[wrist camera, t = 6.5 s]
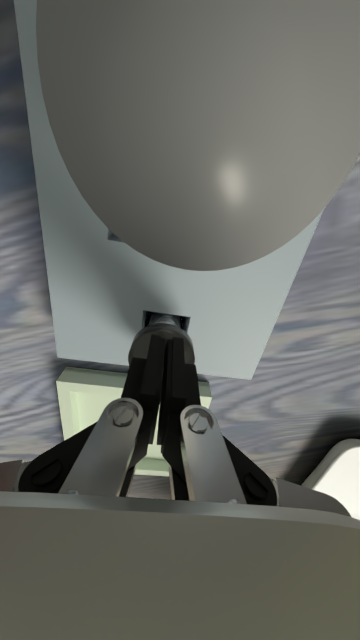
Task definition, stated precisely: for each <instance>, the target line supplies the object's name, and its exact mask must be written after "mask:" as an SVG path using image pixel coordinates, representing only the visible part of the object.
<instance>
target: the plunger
mask: <svg viewBox="0 0 360 640" xmlns="http://www.w3.org/2000/svg"><path fill="white" fill-rule="evenodd" d="M151 334H155V335H162V338H164V339H165V351H164V364H165V358H166V352H167V346H168V340H169V339H173V337H178V338H183V340H184V356H185V363H186V364H195V355H194V348H193V343H192V340H191V338H190V337H189V335H188V334H187V333H186V332H185V331H184V330H183V329H181V328H180V316H179V315H172V314H165V313H158V312H152V313H151V317H150V322H149V326H146V327H144V328H143V329H141V330H140V331H139V332H138V333H137V334H136V335H135V337H134V339H133V341H132V345H131V348H130V351H129V354H128V363H129V366H130V364H131V360H132V358H133V357H135V358H144V359H147V355H148V349H149V344H150V339H151ZM164 364H163V370H164Z"/></svg>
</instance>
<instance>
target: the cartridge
mask: <svg viewBox="0 0 360 640" xmlns="http://www.w3.org/2000/svg"><path fill="white" fill-rule="evenodd" d="M36 39H37V59H38V67H39V74H40V81H41V88H42V95H43V99H44V103H45V107H46V111H47V115H48V119H49V124H50V127H51V130H52V132H53V135H54V138H55V141H56V144H57V147H58V150H59V152H60V155H61V157H62V159H63V161H64V163H65V166H66V168H67V170H68V172H69V174H70V176H71V178H72V180H73V181H74V183H75V185H76V187H77V188H78V190H79V192H80V194H81V195H82V197H83V198H84V199H85V201H86V202H87V204H88V205H89V206H90V208H91V209H92V210H93V212H94V213H95V214H96V215H97V217H98V218H99V219H100V220H101V221H102V222H103V223H104V224H105V225H106V227H107V228H108V229H109V230H110V231H112V232H113V233H114V234H115V235H116V236H117V237H118V238H119V239H121V240H122V241H123V242H124V243H126V244H127V245H129V246H130V247H131V248H133V249H134V250H136V251H137V252H139V253H141V254H143V255H145V256H146V257H148V258H150V259H152V260H154V261H157V262H160V263H162V264H165V265H168V266H171V267H176V268H180V269H184V270H194V271H218V270H224V269H230V268H235V267H238V266H241V265H245V264H248V263H251V262H253V261H255V260H258V259H260V258H262V257H265V256H266V255H268V254H270V253H272V252H273V251H275V250H277V249H279V248H280V247H282V246H283V245H285V244H286V243H287V242H289V241H290V240H291V239H293V238H294V237H296V236H297V235H298V234H299V233H300V232H301V231H302V230H303V229H305V228H306V227H307V226H308V225H309V224H310V223H311V222H312V221H313V220H314V219H315V218H316V217H317V216H318V215H319V214H320V212H321V211H322V210H323V209H324V208H325V207H326V206H327V205H328V203H329V202H330V201H331V199H332V198H333V197H334V195H335V194H336V193H337V191H338V190H339V189H340V187H341V186H342V184H343V182H344V181H345V179H346V178H347V176H348V174H349V173H350V171H351V169H352V168H353V166H354V165H355V163H356V161H357V159H358V157H359V155H360V0H37V11H36Z"/></svg>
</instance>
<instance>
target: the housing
mask: <svg viewBox="0 0 360 640" xmlns="http://www.w3.org/2000/svg"><path fill="white" fill-rule="evenodd" d="M14 7H15V15H16V24H17V32H18V40H19V48H20V56H21V64H22V72H23V81H24V89H25V97H26V105H27V113H28V121H29V129H30V138H31V146H32V154H33V162H34V170H35V178H36V186H37V195H38V203H39V211H40V219H41V227H42V235H43V243H44V252H45V260H46V268H47V276H48V284H49V292H50V300H51V308H52V317H53V325H54V333H55V341H56V349H57V357H58V358H66V359H74V360H83V361H92V362H100V363H109V364H118V365H127V366H129V363H128V354H129V351H130V348H131V345H132V341H133V339H134V337H135V335H136V334H137V333H138V332H139V331H140V330H141V329H143V328H144V327H145V321H146V312H147V311H151V312H158V313H165V314H172V315H179V316H185V317H184V322H183V327H182V329H183V330H184V331H185V332H186V333H187V334H188V335H189V337H190V338H191V340H192V343H193V348H194V355H195V365H196V370H197V374H205V375H214V376H222V377H231V378H240V379H249V380H251V379H252V376H253V374H254V372H255V369H256V367H257V365H258V362H259V360H260V358H261V355H262V353H263V351H264V348H265V346H266V344H267V341H268V339H269V337H270V334H271V332H272V330H273V327H274V325H275V322H276V320H277V318H278V315H279V313H280V311H281V308H282V306H283V304H284V301H285V299H286V297H287V294H288V292H289V290H290V287H291V285H292V283H293V280H294V278H295V276H296V273H297V271H298V269H299V266H300V264H301V261H302V259H303V257H304V254H305V252H306V250H307V247H308V245H309V243H310V240H311V238H312V236H313V233H314V231H315V229H316V226H317V224H318V222H319V219H320V217H321V215H322V212H323V210H324V209H323V210H322V211H321V212H320V214H319V215H318V216H317V217H316V218H315V219H314V220H313V221H312V222H311V223H310V224H309V225H308V226H307V227H306V228H305V229H303V230H302V231H301V232H300V233H299V234H298V235H297V236H296V237H294V238H293V239H291V240H290V241H289V242H287V243H286V244H285V245H283V246H282V247H280V248H279V249H277V250H275V251H273V252H272V253H270V254H268V255H266V256H265V257H262V258H260V259H258V260H255V261H253V262H251V263H248V264H245V265H241V266H238V267H235V268H230V269H224V270H218V271H194V270H184V269H180V268H176V267H171V266H168V265H165V264H162V263H160V262H157V261H154V260H152V259H150V258H148V257H146V256H145V255H143V254H141V253H139V252H137V251H136V250H134V249H133V248H131V247H130V246H129V245H127V244H126V243H124V242H123V241H122V240H121V239H119V238H118V237H117V236H116V235H115V234H114V233H113V232H112V231H110V230H109V229H108V228H107V227H106V225H105V224H104V223H103V222H102V221H101V220H100V219H99V218H98V217H97V215H96V214H95V213H94V212H93V210H92V209H91V208H90V206H89V205H88V204H87V202H86V201H85V199H84V198H83V197H82V195H81V194H80V192H79V190H78V188H77V187H76V185H75V183H74V181H73V180H72V178H71V176H70V174H69V172H68V170H67V168H66V166H65V163H64V161H63V159H62V157H61V155H60V152H59V150H58V147H57V144H56V141H55V138H54V135H53V132H52V130H51V127H50V124H49V119H48V115H47V111H46V107H45V103H44V99H43V95H42V88H41V81H40V74H39V67H38V59H37V39H36V11H37V0H14Z"/></svg>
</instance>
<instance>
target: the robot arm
mask: <svg viewBox="0 0 360 640" xmlns="http://www.w3.org/2000/svg"><path fill="white" fill-rule="evenodd" d="M164 351H165V339H164V338H162V335H155V334H151V339H150V344H149V349H148V355H147V359H144V358H135V357H133V358H132V360H131V364H130V367H129V371H128V374H127V378H126V381H125V385H124V388H123V391H122V395H121V398H118V399H116V400H113V401H112V402H110V403H109V404H108V405H107V406H106V407H105V409H104V410H103V412H102V414H101V416H100V418H99V420H98V421H97V422H95V423H94V424H92V425H90V426H88V427H87V428H85V429H83V430H82V431H80V432H78V433H77V434H75V435H73V436H72V437H70V438H68V439H66V440H65V441H63V442H61V443H60V444H58V445H56V446H55V447H53V448H51V449H50V450H48V451H46V452H44V453H43V454H41V455H39V456H38V457H37V458H35V459H34V460H33V461H30V462H23V460H16V461H10V462H3V463H0V640H360V520H358V519H355V518H352V517H351V515H350V513H349V512H348V511H347V509H346V508H345V507H344V506H343V505H342V504H341V503H340V502H339V501H338V500H336V499H335V498H334V497H332V496H330V495H328V494H325V493H322V492H319V491H316V490H313V489H310V488H307V487H304V486H300V485H297V484H294V483H291V482H288V481H285V480H282V479H279V478H275V479H274V480H273V479H270V478H269V477H268V476H267V475H266V474H265V473H264V472H263V471H262V470H261V469H260V468H259V467H258V466H257V465H256V464H254V463H253V462H252V461H251V460H250V459H249V458H248V457H247V456H245V455H244V454H243V453H242V452H241V451H240V450H239V449H238V448H236V447H235V446H234V445H233V444H232V443H231V442H230V441H229V440H227V439H226V438H225V437H224V436H223V435H222V433H221V430H220V427H219V424H218V422H217V419H216V417H215V415H214V414H213V413H212V412H211V411H210V410H209V409H207V408H206V407H204V406H201V401H200V393H199V385H198V378H197V370H196V365H195V364H186V363H185V356H184V340H183V338H178V337H173V339H169V340H168V346H167V352H166V358H165V364H164ZM163 364H164V370H163ZM159 405H160V408H159ZM158 411H159V420H158V432H157V445H161V454H162V456H163V457H164V459H165V460H166V461H167V462H168V463H169V478H170V487H171V496H172V500H166V499H149V498H131V497H128V494H129V490H130V487H131V484H132V480H133V477H134V473H135V470H136V466H137V463H138V462H139V461H140V460H141V459H142V458H144V457H145V456H146V455H147V449H148V444H152V445H153V440H154V434H155V428H156V422H157V416H158Z"/></svg>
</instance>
